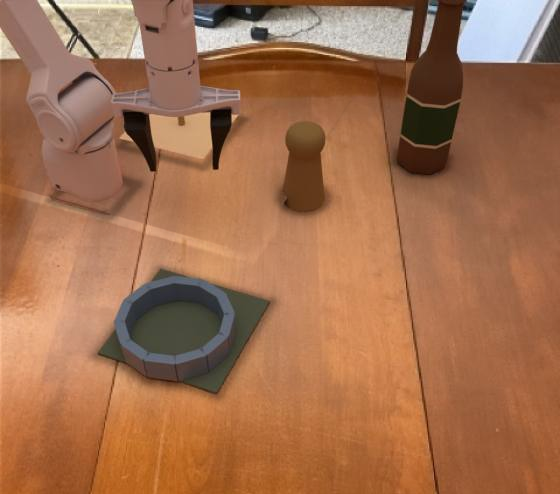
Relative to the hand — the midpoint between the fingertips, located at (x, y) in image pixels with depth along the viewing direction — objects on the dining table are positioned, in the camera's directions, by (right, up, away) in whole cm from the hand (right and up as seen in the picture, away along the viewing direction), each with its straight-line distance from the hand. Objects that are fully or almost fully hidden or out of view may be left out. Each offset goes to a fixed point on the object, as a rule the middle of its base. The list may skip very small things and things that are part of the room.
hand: (184, 166), depth 84 cm
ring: (0, -21, -5) cm, 22 cm away
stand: (-3, +11, +21) cm, 24 cm away
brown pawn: (+15, -1, +11) cm, 19 cm away
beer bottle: (+33, +6, +17) cm, 37 cm away
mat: (+1, -20, -4) cm, 21 cm away
